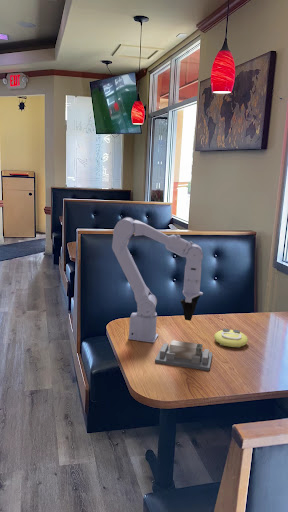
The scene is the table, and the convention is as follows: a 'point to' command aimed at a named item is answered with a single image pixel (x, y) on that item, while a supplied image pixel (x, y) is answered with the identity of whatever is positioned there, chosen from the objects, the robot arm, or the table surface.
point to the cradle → (195, 363)
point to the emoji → (231, 338)
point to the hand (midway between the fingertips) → (189, 316)
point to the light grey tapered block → (185, 349)
